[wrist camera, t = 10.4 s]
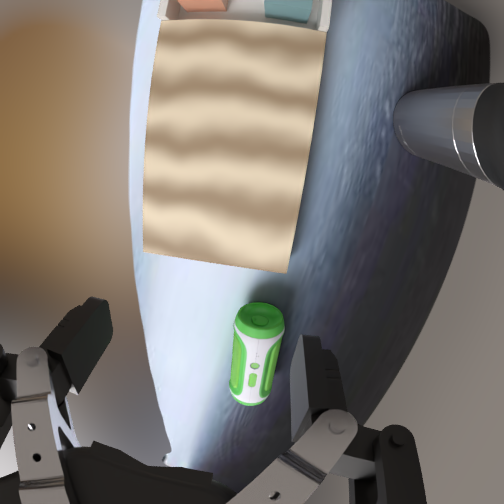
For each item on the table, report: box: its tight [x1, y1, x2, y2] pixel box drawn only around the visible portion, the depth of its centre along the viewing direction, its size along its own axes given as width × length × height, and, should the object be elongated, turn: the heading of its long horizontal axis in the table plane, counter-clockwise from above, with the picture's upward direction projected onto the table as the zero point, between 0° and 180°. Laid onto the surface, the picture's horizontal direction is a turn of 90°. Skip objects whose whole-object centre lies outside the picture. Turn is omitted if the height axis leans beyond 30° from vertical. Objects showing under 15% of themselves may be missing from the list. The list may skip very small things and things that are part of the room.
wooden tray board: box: [143, 19, 327, 274], centre depth 33 cm, size 30×19×4 cm, turn 173°
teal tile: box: [264, 0, 313, 24], centre depth 24 cm, size 5×5×2 cm
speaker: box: [229, 302, 285, 406], centre depth 44 cm, size 18×7×8 cm, turn 175°
